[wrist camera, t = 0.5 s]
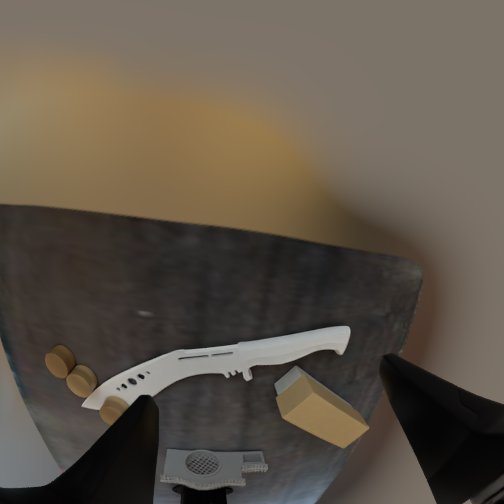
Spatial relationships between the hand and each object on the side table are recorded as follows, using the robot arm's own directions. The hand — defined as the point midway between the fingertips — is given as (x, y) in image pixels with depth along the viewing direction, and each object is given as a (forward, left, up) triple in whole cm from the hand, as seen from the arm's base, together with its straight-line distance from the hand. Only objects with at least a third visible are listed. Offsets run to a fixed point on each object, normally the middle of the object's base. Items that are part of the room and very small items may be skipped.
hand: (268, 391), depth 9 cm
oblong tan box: (-4, -14, -14) cm, 20 cm away
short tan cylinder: (-19, +5, -14) cm, 24 cm away
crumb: (-19, +8, -14) cm, 25 cm away
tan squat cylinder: (-19, 0, -13) cm, 23 cm away
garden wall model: (-18, -12, -14) cm, 26 cm away
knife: (-10, -3, -14) cm, 17 cm away
